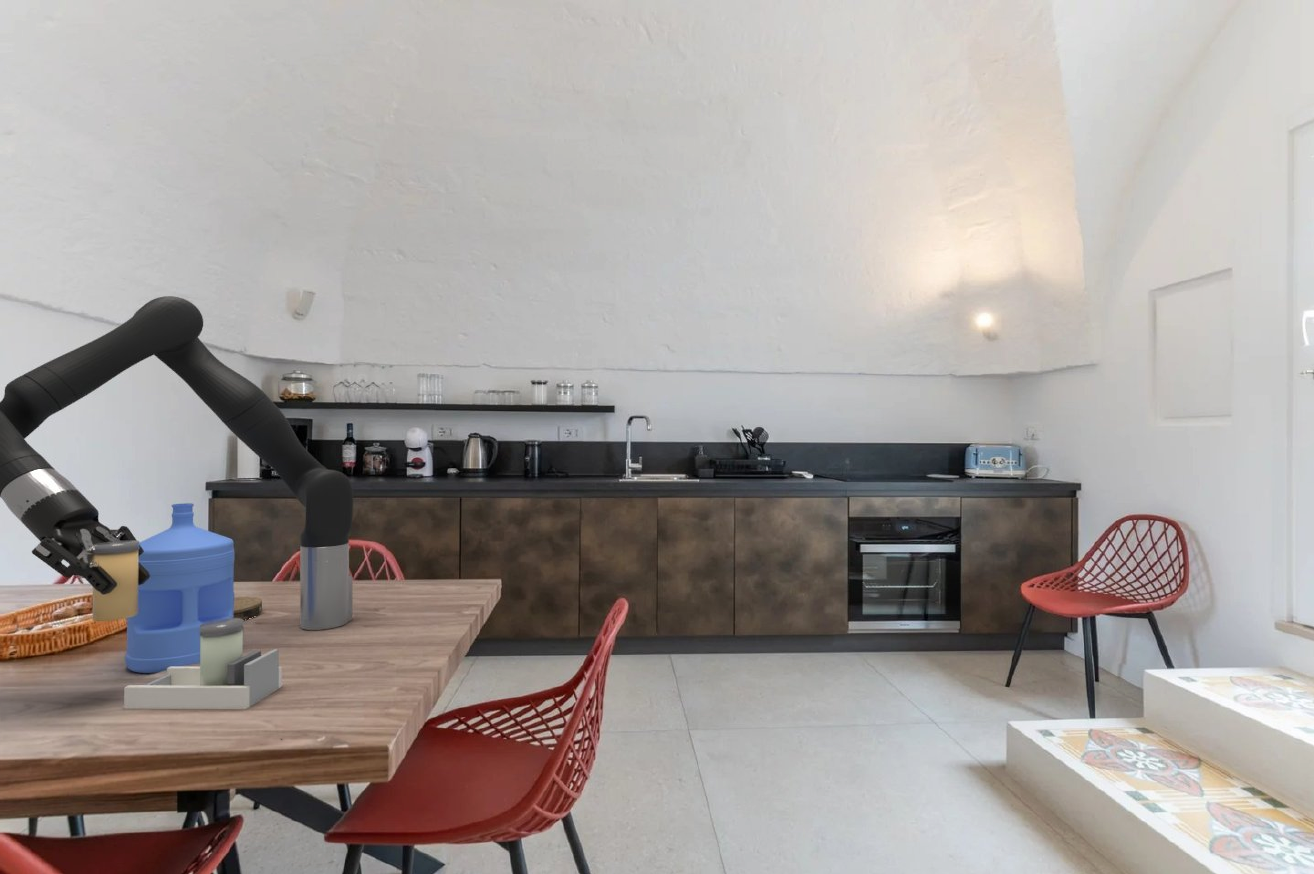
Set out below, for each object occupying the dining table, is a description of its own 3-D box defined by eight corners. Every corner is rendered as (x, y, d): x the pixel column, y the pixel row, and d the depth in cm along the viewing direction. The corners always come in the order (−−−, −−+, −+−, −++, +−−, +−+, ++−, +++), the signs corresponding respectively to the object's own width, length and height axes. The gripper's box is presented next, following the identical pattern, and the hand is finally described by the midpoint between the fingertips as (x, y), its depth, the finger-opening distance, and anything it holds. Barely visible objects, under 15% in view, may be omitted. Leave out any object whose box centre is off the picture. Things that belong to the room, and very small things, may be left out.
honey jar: (125, 610, 98) (125, 539, 98) (147, 613, 96) (147, 541, 96) (83, 619, 93) (83, 545, 93) (105, 623, 91) (105, 547, 91)
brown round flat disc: (218, 608, 149) (218, 595, 149) (278, 610, 147) (278, 597, 147) (155, 627, 133) (155, 613, 133) (222, 630, 131) (222, 616, 131)
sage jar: (227, 687, 97) (227, 616, 97) (251, 692, 95) (251, 620, 95) (190, 701, 92) (190, 626, 92) (215, 706, 90) (215, 630, 90)
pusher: (227, 704, 91) (227, 664, 91) (254, 688, 97) (254, 650, 97) (239, 704, 91) (239, 664, 91) (266, 688, 97) (266, 650, 97)
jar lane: (124, 715, 90) (124, 666, 90) (170, 691, 98) (170, 647, 98) (245, 715, 89) (245, 666, 89) (281, 692, 98) (281, 647, 98)
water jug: (119, 660, 113) (119, 504, 113) (222, 639, 124) (223, 498, 124) (133, 682, 102) (133, 510, 102) (244, 658, 113) (245, 503, 114)
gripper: (18, 492, 87) (102, 578, 87) (110, 484, 101) (182, 558, 101) (-20, 530, 87) (65, 616, 87) (78, 517, 102) (150, 591, 101)
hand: (128, 585), depth 94 cm, fingers closed on honey jar, 5 cm apart
